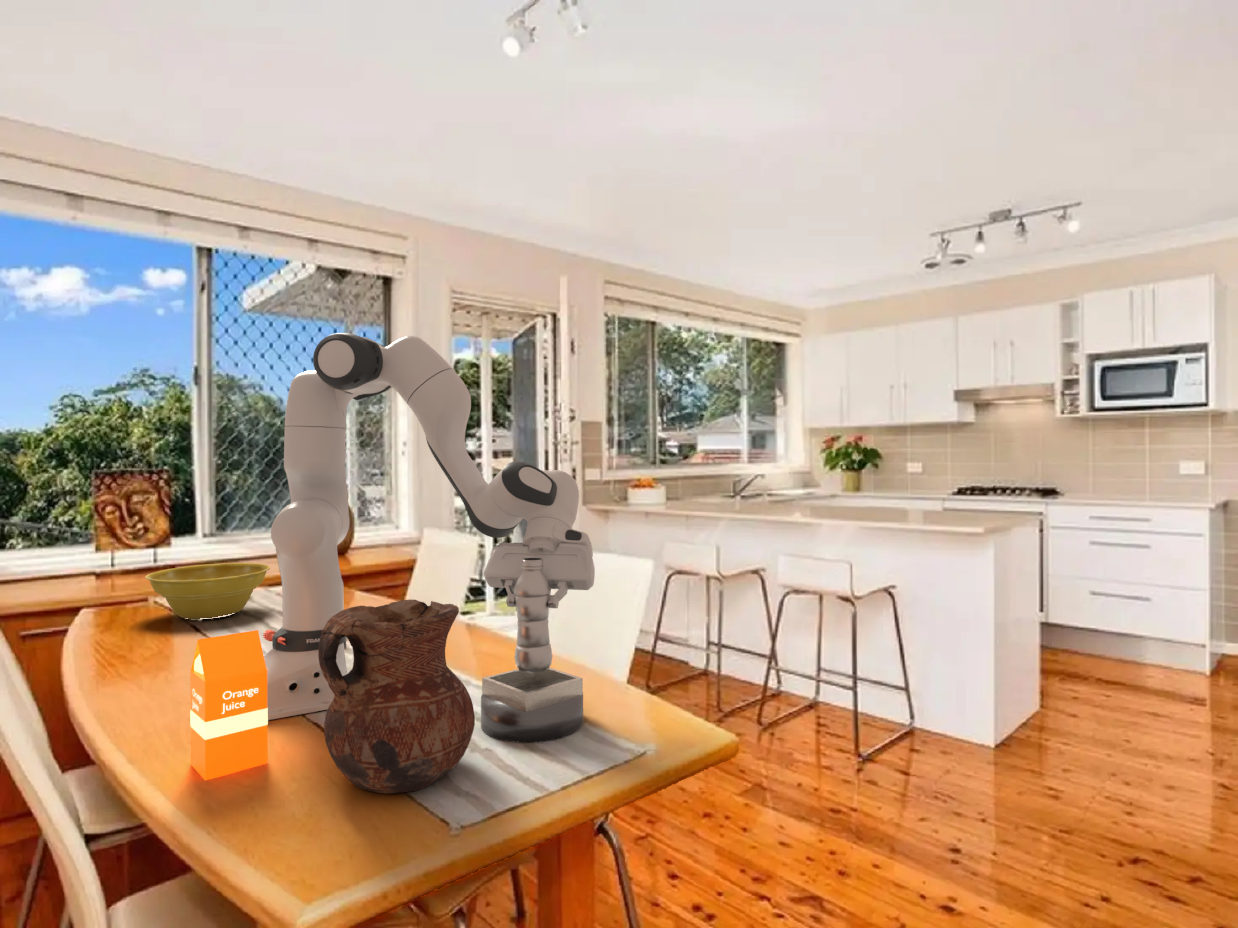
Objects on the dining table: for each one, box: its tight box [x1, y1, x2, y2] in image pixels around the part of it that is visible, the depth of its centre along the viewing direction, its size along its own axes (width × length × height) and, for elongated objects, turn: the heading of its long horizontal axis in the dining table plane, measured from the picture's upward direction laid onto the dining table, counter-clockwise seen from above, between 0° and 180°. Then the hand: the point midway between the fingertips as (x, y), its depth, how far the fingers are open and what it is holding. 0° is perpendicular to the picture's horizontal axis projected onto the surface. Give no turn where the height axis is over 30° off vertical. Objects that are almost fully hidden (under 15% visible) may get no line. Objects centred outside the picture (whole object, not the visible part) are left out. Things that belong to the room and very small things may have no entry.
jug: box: [318, 599, 476, 794], centre depth 110 cm, size 22×21×25 cm
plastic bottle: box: [513, 557, 553, 672], centre depth 131 cm, size 6×7×20 cm
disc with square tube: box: [480, 666, 584, 744], centre depth 132 cm, size 18×20×8 cm
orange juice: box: [189, 629, 269, 781], centre depth 113 cm, size 8×9×20 cm
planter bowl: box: [144, 562, 271, 619], centre depth 217 cm, size 32×32×13 cm
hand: (531, 605), depth 130 cm, fingers closed on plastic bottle, 6 cm apart
